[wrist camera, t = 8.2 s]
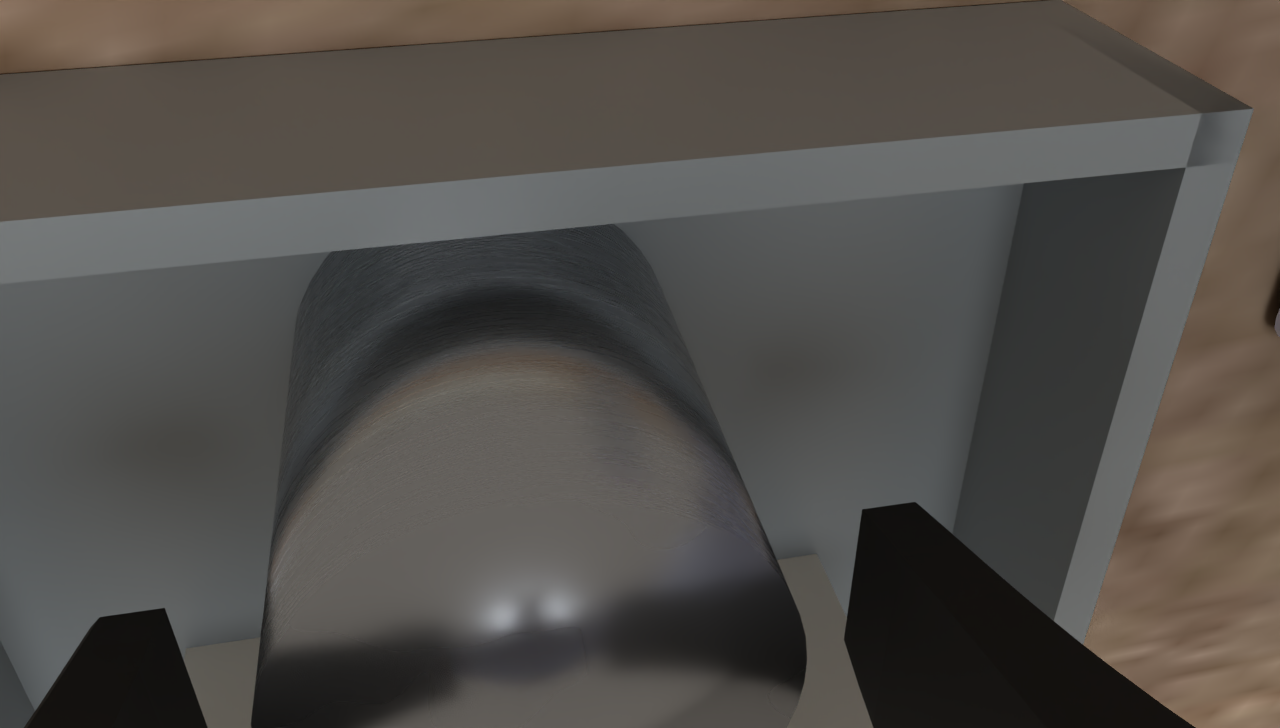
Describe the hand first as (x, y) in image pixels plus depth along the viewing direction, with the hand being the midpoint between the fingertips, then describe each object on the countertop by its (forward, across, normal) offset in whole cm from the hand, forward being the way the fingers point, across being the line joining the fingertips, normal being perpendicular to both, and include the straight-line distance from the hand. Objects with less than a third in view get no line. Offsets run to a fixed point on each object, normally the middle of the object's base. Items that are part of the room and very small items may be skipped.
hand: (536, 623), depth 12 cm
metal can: (+4, 0, -1) cm, 4 cm away
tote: (+5, 0, +4) cm, 6 cm away
